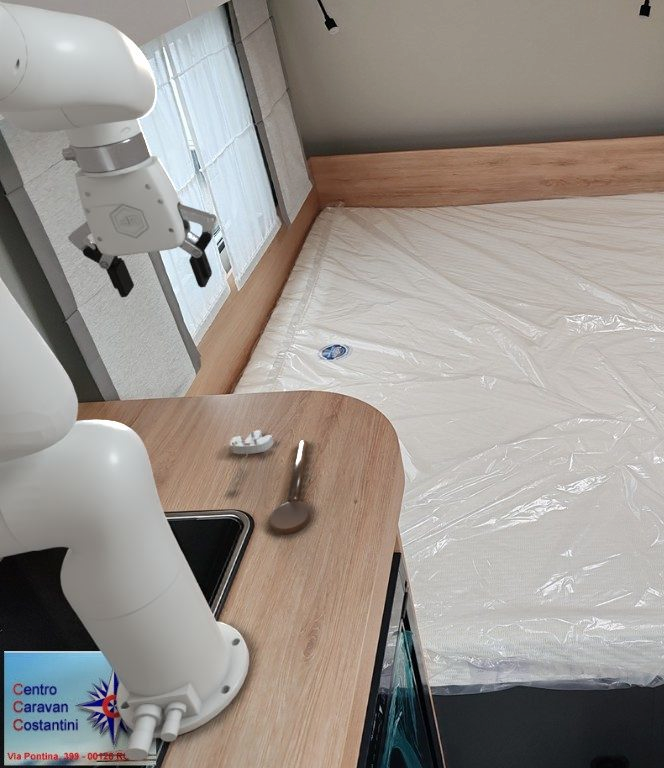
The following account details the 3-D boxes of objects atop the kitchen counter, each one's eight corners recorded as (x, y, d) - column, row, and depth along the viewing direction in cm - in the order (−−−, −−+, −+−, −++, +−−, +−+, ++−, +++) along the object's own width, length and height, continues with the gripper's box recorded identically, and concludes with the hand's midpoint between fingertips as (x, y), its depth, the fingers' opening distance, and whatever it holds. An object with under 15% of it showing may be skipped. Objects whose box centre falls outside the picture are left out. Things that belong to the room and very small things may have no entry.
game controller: (274, 432, 109) (269, 418, 107) (276, 484, 100) (270, 469, 98) (234, 442, 108) (228, 427, 106) (231, 494, 99) (225, 480, 97)
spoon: (309, 531, 92) (306, 523, 91) (269, 537, 92) (266, 529, 91) (322, 443, 106) (319, 435, 105) (287, 448, 106) (285, 440, 105)
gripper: (21, 174, 82) (86, 310, 92) (181, 154, 83) (229, 292, 92) (49, 152, 88) (107, 282, 98) (198, 134, 89) (241, 265, 99)
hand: (166, 287), depth 95 cm, fingers open, 9 cm apart
